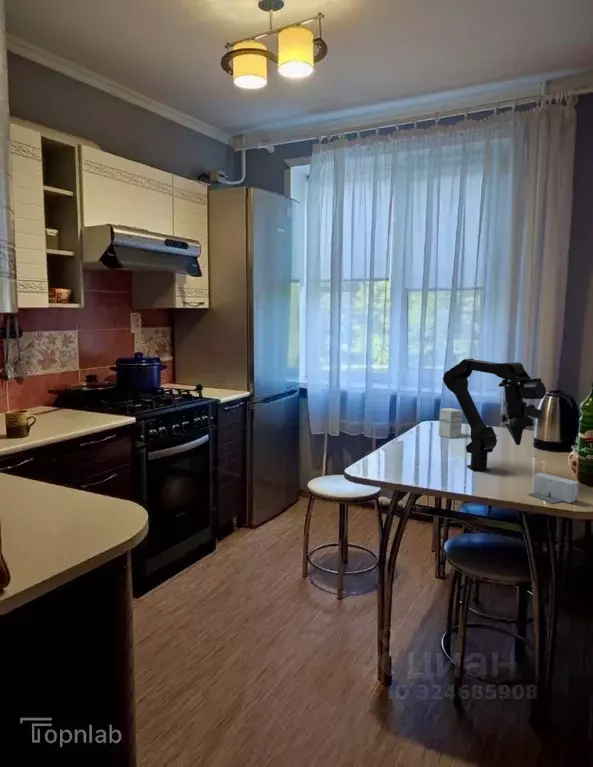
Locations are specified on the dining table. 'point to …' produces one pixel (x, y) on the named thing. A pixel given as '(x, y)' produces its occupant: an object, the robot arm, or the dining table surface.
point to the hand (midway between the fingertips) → (518, 444)
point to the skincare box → (556, 487)
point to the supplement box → (450, 422)
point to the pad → (545, 498)
